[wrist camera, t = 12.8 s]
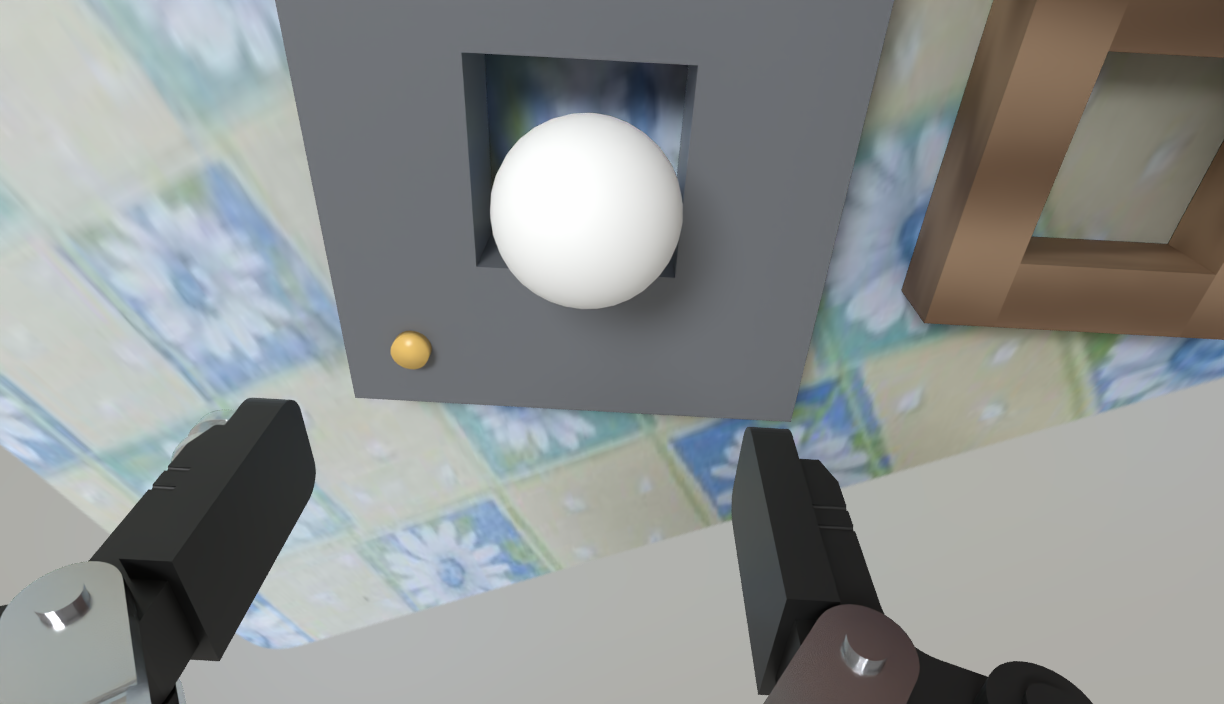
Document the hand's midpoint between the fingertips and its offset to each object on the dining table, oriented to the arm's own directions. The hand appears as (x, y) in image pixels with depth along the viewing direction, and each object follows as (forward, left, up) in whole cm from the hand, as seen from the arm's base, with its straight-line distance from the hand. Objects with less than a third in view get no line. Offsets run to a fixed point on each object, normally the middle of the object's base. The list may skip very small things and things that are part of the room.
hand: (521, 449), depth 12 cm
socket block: (0, 0, -19) cm, 19 cm away
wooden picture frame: (-1, +22, -19) cm, 29 cm away
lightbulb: (0, 0, -19) cm, 19 cm away
